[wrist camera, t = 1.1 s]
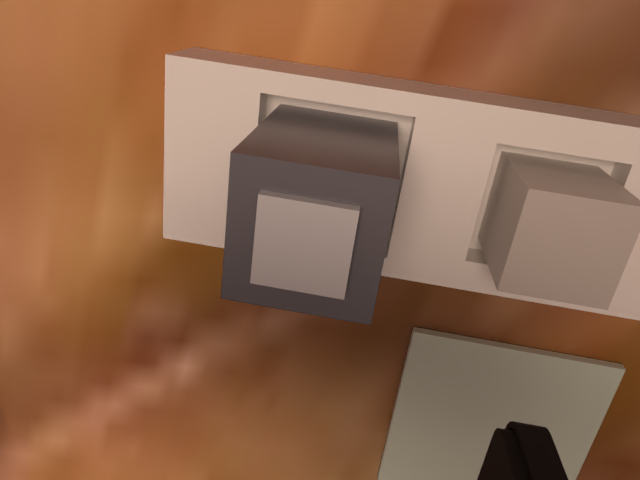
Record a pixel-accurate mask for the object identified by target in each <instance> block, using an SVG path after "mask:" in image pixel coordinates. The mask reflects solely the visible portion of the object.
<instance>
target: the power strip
mask: <svg viewBox="0 0 640 480" xmlns="http://www.w3.org/2000/svg"><path fill="white" fill-rule="evenodd" d="M280 104H286V105H292V106H299V107H305V108H311V109H318V110H324V111H330V112H337V113H343V114H349V115H356V116H362V117H368V118H375V119H381V120H387V121H394V122H398V142H399V162H400V184H399V189H398V194H397V199H396V204H395V209H394V214H393V219H392V224H391V229H390V234H389V238H388V243H387V248H386V253H385V258H384V263H383V268H382V273H381V276H386V277H392V278H398V279H403V280H409V281H415V282H421V283H426V284H432V285H438V286H444V287H449V288H455V289H461V290H467V291H472V292H478V293H484V294H490V295H495V296H501V297H507V298H513V299H519V300H524V301H530V302H536V303H542V304H547V305H553V306H559V307H565V308H570V309H576V310H582V311H588V312H593V313H599V314H605V315H611V316H616V317H622V318H628V319H634V320H639V321H640V233H639V236H638V238H637V240H636V243H635V245H634V248H633V250H632V252H631V255H630V257H629V260H628V262H627V264H626V267H625V269H624V272H623V274H622V277H621V279H620V281H619V284H618V286H617V289H616V291H615V293H614V296H613V298H612V301H611V303H610V305H609V308H608V310H604V309H598V308H593V307H587V306H581V305H575V304H569V303H564V302H558V301H552V300H546V299H541V298H535V297H529V296H523V295H517V294H512V293H506V292H500V291H497V289H496V286H495V284H494V281H493V278H492V275H491V272H490V270H489V267H488V264H487V261H486V259H485V256H484V253H483V250H482V248H481V245H480V242H479V239H478V234H479V230H480V226H481V223H482V219H483V216H484V212H485V208H486V205H487V201H488V198H489V194H490V191H491V187H492V183H493V180H494V176H495V173H496V169H497V165H498V162H499V158H500V155H501V151H506V152H513V153H519V154H525V155H531V156H538V157H544V158H550V159H556V160H563V161H569V162H575V163H582V164H588V165H594V166H598V167H600V168H601V169H602V170H603V171H605V172H606V173H607V174H608V175H610V176H611V177H612V178H613V179H614V180H616V181H617V182H618V183H619V184H621V185H622V186H623V187H624V188H625V189H627V190H628V191H629V192H630V193H632V194H633V195H634V196H635V197H637V198H638V199H639V200H640V115H633V114H627V113H620V112H614V111H607V110H601V109H594V108H588V107H581V106H575V105H568V104H562V103H555V102H549V101H542V100H536V99H529V98H523V97H516V96H510V95H503V94H497V93H490V92H484V91H477V90H471V89H464V88H458V87H451V86H445V85H438V84H432V83H425V82H419V81H412V80H406V79H399V78H393V77H386V76H380V75H373V74H367V73H360V72H354V71H347V70H341V69H334V68H328V67H321V66H315V65H308V64H302V63H295V62H289V61H282V60H276V59H269V58H263V57H256V56H250V55H243V54H237V53H230V52H224V51H217V50H211V49H204V48H198V47H192V48H188V49H184V50H181V51H177V52H173V53H169V54H165V124H164V203H163V238H167V239H173V240H179V241H185V242H190V243H196V244H202V245H208V246H213V247H219V248H224V244H225V229H226V214H227V198H228V183H229V168H230V152H231V151H232V150H233V149H234V148H235V147H236V146H237V145H238V144H239V143H240V142H241V141H243V140H244V139H245V138H246V137H247V136H248V135H249V134H250V133H251V132H252V131H253V130H254V129H255V128H256V127H257V126H258V125H259V124H260V123H261V122H262V121H263V120H264V119H265V118H266V117H267V116H268V115H270V114H271V113H272V112H273V111H274V110H275V109H276V108H277V107H278V106H279V105H280Z"/></svg>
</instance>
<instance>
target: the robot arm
mask: <svg viewBox="0 0 640 480" xmlns="http://www.w3.org/2000/svg"><path fill="white" fill-rule="evenodd" d="M477 480H568V477H567V475H566V472H565V470H564V467H563V464H562V462H561V459H560V457H559V454H558V451H557V449H556V446H555V444H554V441H553V438H552V436H551V433H550V432H549V430H548V429H547V428H546V427H542V426H537V425H531V424H525V423H520V422H514V421H510V422H509V423H508V424H507V425H506V428H505V429H501V428H497V429H496V430H495V431H494V433H493V436H492V439H491V441H490V444H489V447H488V450H487V453H486V456H485V459H484V461H483V464H482V467H481V470H480V473H479V476H478V478H477Z"/></svg>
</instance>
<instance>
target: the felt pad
mask: <svg viewBox="0 0 640 480" xmlns="http://www.w3.org/2000/svg"><path fill="white" fill-rule="evenodd" d="M625 371H626V369H625V368H624V366H623V364H619V363H614V362H608V361H603V360H597V359H591V358H586V357H580V356H575V355H569V354H563V353H558V352H552V351H547V350H541V349H535V348H530V347H524V346H518V345H513V344H507V343H502V342H496V341H490V340H485V339H479V338H474V337H468V336H462V335H457V334H451V333H446V332H440V331H434V330H429V329H423V328H417V327H413V331H412V335H411V339H410V343H409V347H408V352H407V356H406V360H405V364H404V368H403V372H402V376H401V380H400V384H399V389H398V393H397V397H396V401H395V405H394V409H393V413H392V417H391V421H390V425H389V430H388V434H387V438H386V442H385V446H384V450H383V454H382V458H381V462H380V467H379V471H378V475H377V480H477V478H478V476H479V473H480V470H481V467H482V464H483V461H484V459H485V456H486V453H487V450H488V447H489V444H490V441H491V439H492V436H493V433H494V431H495V430H496V429H497V428H501V429H505V428H506V425H507V424H508V423H509V422H510V421H514V422H520V423H525V424H531V425H537V426H542V427H546V428H547V429H548V430H549V432H550V433H551V436H552V438H553V441H554V444H555V446H556V449H557V451H558V454H559V457H560V459H561V462H562V464H563V467H564V470H565V472H566V475H567V477H568V480H576V478H577V476H578V474H579V472H580V469H581V467H582V465H583V463H584V461H585V458H586V456H587V454H588V452H589V450H590V447H591V445H592V443H593V441H594V439H595V437H596V434H597V432H598V430H599V428H600V426H601V423H602V421H603V419H604V417H605V415H606V412H607V410H608V408H609V406H610V404H611V401H612V399H613V397H614V395H615V393H616V391H617V388H618V386H619V384H620V382H621V380H622V377H623V375H624V373H625Z"/></svg>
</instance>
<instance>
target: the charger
mask: <svg viewBox="0 0 640 480" xmlns="http://www.w3.org/2000/svg"><path fill="white" fill-rule="evenodd" d="M399 184H400V162H399V142H398V122H394V121H387V120H381V119H375V118H368V117H362V116H356V115H349V114H343V113H337V112H330V111H324V110H318V109H311V108H305V107H299V106H292V105H286V104H280V105H279V106H278V107H277V108H276V109H275V110H274V111H273V112H272V113H271V114H270V115H268V116H267V117H266V118H265V119H264V120H263V121H262V122H261V123H260V124H259V125H258V126H257V127H256V128H255V129H254V130H253V131H252V132H251V133H250V134H249V135H248V136H247V137H246V138H245V139H244V140H243V141H241V142H240V143H239V144H238V145H237V146H236V147H235V148H234V149H233V150H232V151H231V152H230V168H229V183H228V198H227V214H226V229H225V244H224V260H223V275H222V290H221V299H227V300H232V301H238V302H244V303H249V304H255V305H260V306H266V307H272V308H277V309H283V310H288V311H294V312H300V313H305V314H311V315H316V316H322V317H328V318H333V319H339V320H344V321H350V322H355V323H361V324H367V325H371V322H372V317H373V312H374V307H375V302H376V297H377V292H378V287H379V283H380V278H381V273H382V268H383V263H384V258H385V253H386V248H387V243H388V238H389V234H390V229H391V224H392V219H393V214H394V209H395V204H396V199H397V194H398V189H399Z"/></svg>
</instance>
